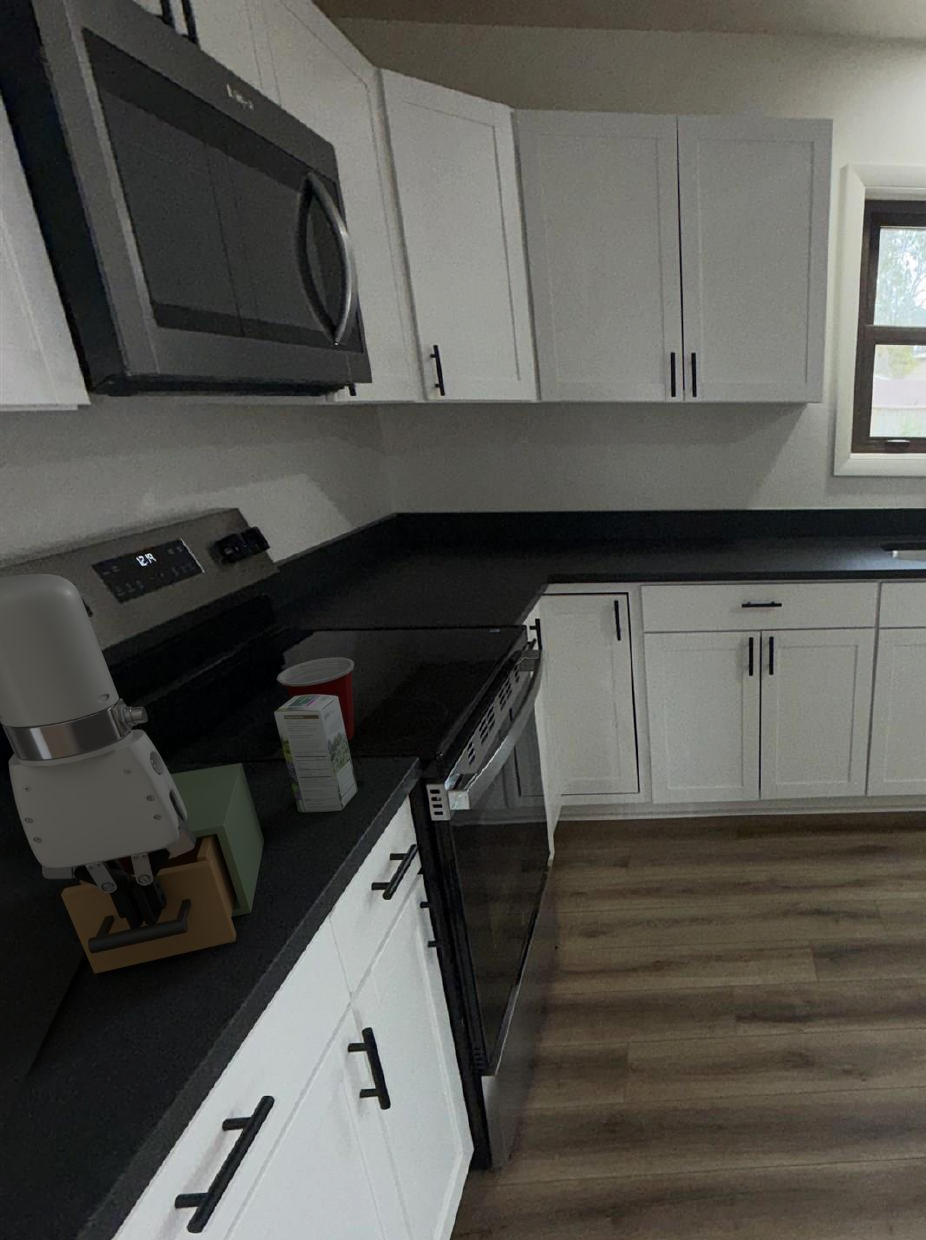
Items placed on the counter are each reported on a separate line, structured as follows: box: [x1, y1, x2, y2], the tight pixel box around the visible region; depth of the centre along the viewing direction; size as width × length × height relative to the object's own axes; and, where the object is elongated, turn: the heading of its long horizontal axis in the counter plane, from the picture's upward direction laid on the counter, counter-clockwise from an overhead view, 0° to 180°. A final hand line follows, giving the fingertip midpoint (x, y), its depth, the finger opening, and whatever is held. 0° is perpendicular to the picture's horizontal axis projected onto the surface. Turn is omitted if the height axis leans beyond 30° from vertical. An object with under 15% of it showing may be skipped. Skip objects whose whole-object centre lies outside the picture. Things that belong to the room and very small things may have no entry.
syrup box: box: [273, 695, 359, 814], centre depth 104 cm, size 6×6×14 cm
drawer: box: [60, 834, 237, 974], centre depth 79 cm, size 20×11×9 cm, turn 25°
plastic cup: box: [276, 656, 355, 741], centre depth 125 cm, size 11×11×12 cm
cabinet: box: [170, 762, 265, 918], centre depth 87 cm, size 17×13×11 cm
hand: (147, 918), depth 72 cm, fingers closed
